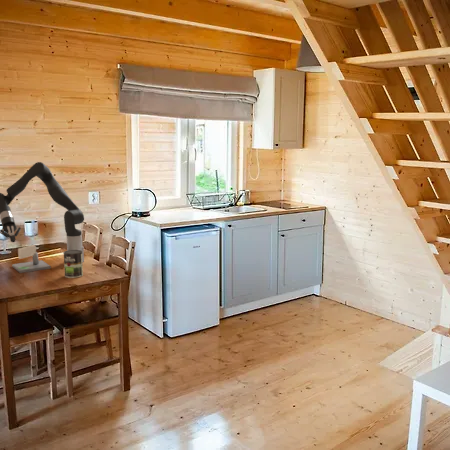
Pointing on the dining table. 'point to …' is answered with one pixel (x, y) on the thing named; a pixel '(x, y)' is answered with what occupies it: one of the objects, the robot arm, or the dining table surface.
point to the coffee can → (73, 263)
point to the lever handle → (28, 253)
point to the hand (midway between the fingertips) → (13, 241)
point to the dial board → (30, 266)
